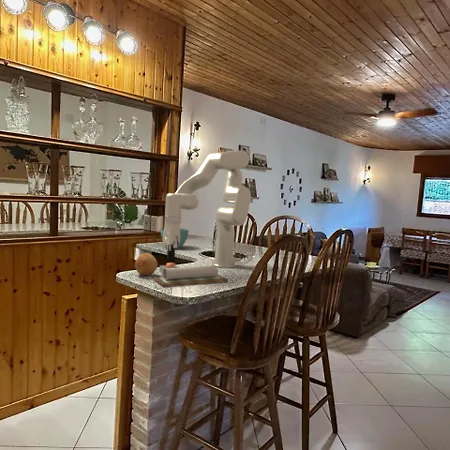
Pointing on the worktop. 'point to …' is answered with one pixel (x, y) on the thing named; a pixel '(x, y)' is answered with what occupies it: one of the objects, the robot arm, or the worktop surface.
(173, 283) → the board
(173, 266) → the button
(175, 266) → the button housing
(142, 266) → the onion
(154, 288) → the worktop surface
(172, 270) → the tube
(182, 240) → the plant pot
